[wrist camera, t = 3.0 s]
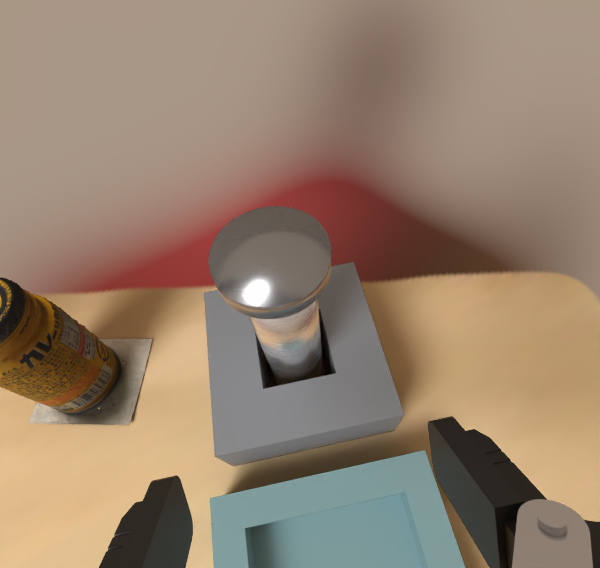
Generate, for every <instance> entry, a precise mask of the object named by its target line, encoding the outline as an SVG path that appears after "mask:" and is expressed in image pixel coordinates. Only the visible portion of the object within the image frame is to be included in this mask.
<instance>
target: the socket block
mask: <svg viewBox="0 0 600 568" xmlns="http://www.w3.org/2000/svg"><path fill="white" fill-rule="evenodd" d="M204 300H205V315H206V330H207V345H208V360H209V375H210V390H211V405H212V420H213V436H214V451H215V457H217V458H219V459H221V460H222V461H224V462H226V463H228V464H230V465H232V466H237V465H242V464H246V463H251V462H255V461H260V460H264V459H269V458H273V457H278V456H282V455H287V454H291V453H296V452H300V451H305V450H309V449H314V448H318V447H323V446H327V445H332V444H336V443H341V442H345V441H350V440H354V439H359V438H363V437H368V436H372V435H377V434H382V433H386V432H391V431H394V430H395V428H396V427H397V425H398V424H399V422H400V421H401V419H402V418H403V416H404V412H403V409H402V406H401V403H400V400H399V397H398V394H397V391H396V388H395V385H394V382H393V379H392V376H391V373H390V370H389V367H388V364H387V361H386V358H385V355H384V352H383V349H382V346H381V343H380V340H379V337H378V334H377V331H376V328H375V325H374V322H373V319H372V316H371V313H370V310H369V307H368V304H367V301H366V298H365V295H364V292H363V289H362V285H361V282H360V279H359V276H358V273H357V270H356V267H355V264H354V262H351V263H346V264H341V265H336V266H331V275H330V279H329V282H328V284H327V286H326V288H325V290H324V291H323V293H322V294H321V295H320V297H319V298H318V310H319V322H320V334H321V337H322V338H323V342H324V346H325V350H326V354H327V359H328V363H329V367H330V371H331V374H330V375H326V376H321V377H316V378H312V379H307V380H303V381H298V382H293V383H289V384H284V385H279V386H275V387H270V382H269V375H268V369H267V362H266V356H265V354H264V351H263V349H262V347H261V344H260V342H259V340H258V337H257V335H256V333H255V330H254V328H253V326H252V323H251V321H250V319H249V316H247V315H244V314H242V313H240V312H238V311H236V310H235V309H233V308H232V307H231V306H230V305H229V304H228V303H226V301H225V300H224V299H223V297H222V296H221V294H220V292H219V290H215V291H210V292H205V293H204Z"/></svg>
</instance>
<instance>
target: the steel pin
mask: <svg viewBox="0 0 600 568" xmlns="http://www.w3.org/2000/svg"><path fill="white" fill-rule="evenodd" d="M209 270H210V273H211V276H212V278H213V280H214V282H215V284H216V286H217V288H218V290H219V292H220V294H221V296H222V297H223V299H224V300H225V301H226V303H228V304H229V305H230V306H231V307H232V308H233V309H235V310H236V311H238V312H240V313H242V314H244V315H247V316H249V319H250V321H251V323H252V326H253V328H254V330H255V333H256V335H257V337H258V340H259V342H260V344H261V347H262V349H263V351H264V354H265V356H266V358H267V361H268V363H269V365H270V368H271V370H272V372H273V375H274V377H275V379H276V382H277V383H278V385H284V384H289V383H293V382H298V381H303V380H307V379H312V378H316V377H321V376H323V358H322V346H321V334H320V322H319V310H318V298H319V297H320V295H321V294H322V293H323V291H324V290H325V288H326V286H327V284H328V282H329V279H330V275H331V244H330V240H329V237H328V235H327V233H326V231H325V229H324V228H323V227H322V226H321V224H320V223H319V222H318V221H317V220H316V219H315V218H313V217H312V216H310V215H309V214H307V213H305V212H303V211H300V210H297V209H294V208H289V207H281V206H271V207H263V208H258V209H254V210H251V211H248V212H246V213H244V214H242V215H240V216H238V217H236V218H235V219H233V220H232V221H230V222H229V223H228V224H227V225H226V226H225V227H224V228H223V229H222V230H221V231H220V232H219V233H218V235H217V237H216V238H215V240H214V242H213V244H212V246H211V249H210V253H209Z"/></svg>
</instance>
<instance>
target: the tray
mask: <svg viewBox="0 0 600 568" xmlns="http://www.w3.org/2000/svg"><path fill="white" fill-rule="evenodd" d="M210 507H211V525H212V543H213V560H214V568H465V565H464V562H463V559H462V556H461V553H460V550H459V547H458V544H457V542H456V539H455V536H454V533H453V530H452V527H451V524H450V521H449V518H448V515H447V512H446V510H445V507H444V504H443V501H442V498H441V495H440V492H439V489H438V486H437V483H436V480H435V477H434V475H433V472H432V469H431V466H430V463H429V460H428V457H427V454H426V451H425V450H423V451H419V452H414V453H410V454H406V455H401V456H397V457H392V458H388V459H383V460H379V461H374V462H370V463H365V464H361V465H356V466H352V467H348V468H343V469H339V470H334V471H330V472H325V473H321V474H316V475H312V476H307V477H303V478H298V479H294V480H289V481H285V482H281V483H276V484H272V485H267V486H263V487H258V488H254V489H249V490H245V491H240V492H236V493H231V494H227V495H223V496H218V497H214V498H210Z"/></svg>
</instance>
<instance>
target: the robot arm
mask: <svg viewBox="0 0 600 568" xmlns="http://www.w3.org/2000/svg"><path fill="white" fill-rule="evenodd" d="M428 431H429V438H430V446H431V454H432V462H433V467H434V470H435V474H436V476H437V479H438V481H439V483H440V485H441V487H442V488H443V490H444V492H445V493H446V495H447V497H448V499H449V500H450V502H451V504H452V505H453V507H454V509H455V510H456V512H457V514H458V515H459V517H460V519H461V520H462V522H463V524H464V525H465V527H466V529H467V530H468V532H469V534H470V535H471V537H472V539H473V540H474V542H475V544H476V545H477V547H478V549H479V550H480V552H481V554H482V555H483V557H484V559H485V560H486V562H487V564H488V565H489V567H490V568H600V522H594V521H587V520H584V519H583V518H582V517H581V516H580V515H579V514H578V513H576V512H575V511H574V510H572V509H571V508H569V507H567V506H565V505H563V504H561V503H558V502H555V501H551V500H547V499H546V498H545V497H544V496H543V495H542V494H541V492H540V491H539V490H538V489H537V488H536V487H535V486H534V485H533V484H532V483H531V482H530V481H529V479H528V478H527V477H526V476H525V475H524V474H523V473H522V472H521V471H520V470H519V469H518V468H517V466H516V465H515V464H514V463H513V462H511V461H510V459H509V458H508V457H507V456H506V455H505V454H504V452H502V451H501V449H500V448H499V447H498V446H497V445H496V444H495V443H494V442H493V441H492V439H491V438H489V437H488V436H486V435H484V434H482V433H480V432H478V431H477V430H475V429H473V430H468V431H465V430H464V429H463V428H462V427H461V425H460V424H459V423H458V422H457V421H456V419H455V418H454V417H452V416H451V417H446V418H442V419H437V420H433V421H429V422H428ZM114 535H115V537H114V538H113V539H112V541H111V543H110V545H109V547H108V551H107V552H106V553H105V556H104V558H103V560H102V562H101V564H100V566H99V568H185V567H186V563H187V558H188V554H189V550H190V545H191V541H192V535H193V523H192V517H191V513H190V510H189V506H188V503H187V500H186V497H185V493H184V490H183V487H182V483H181V480H180V478H179V477H178V476H172V477H168V478H163V479H158V480H154V481H152V482H151V483H150V485H149V488H148V490H147V492H146V495H145V497H144V499H143V501H141V502H136V503H135V504H134V505H133V506H132V507H131V508H130V509H129V511H128V512H127V513H126V514H125V515H124V516H123V518H122V519H121V521H120V524H119V526H118V528H117V530H116V532H115V534H114Z"/></svg>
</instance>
